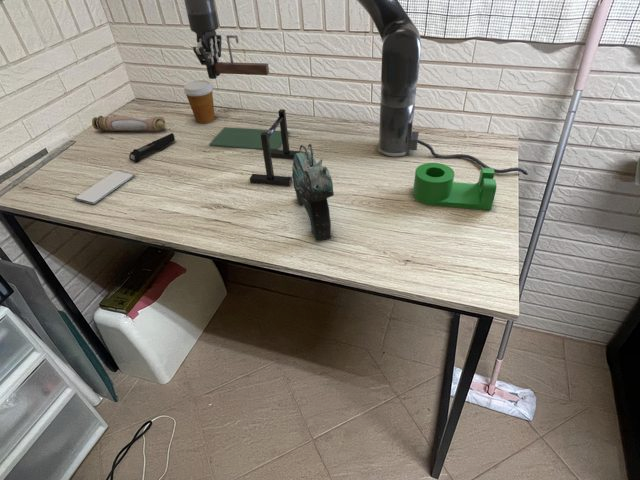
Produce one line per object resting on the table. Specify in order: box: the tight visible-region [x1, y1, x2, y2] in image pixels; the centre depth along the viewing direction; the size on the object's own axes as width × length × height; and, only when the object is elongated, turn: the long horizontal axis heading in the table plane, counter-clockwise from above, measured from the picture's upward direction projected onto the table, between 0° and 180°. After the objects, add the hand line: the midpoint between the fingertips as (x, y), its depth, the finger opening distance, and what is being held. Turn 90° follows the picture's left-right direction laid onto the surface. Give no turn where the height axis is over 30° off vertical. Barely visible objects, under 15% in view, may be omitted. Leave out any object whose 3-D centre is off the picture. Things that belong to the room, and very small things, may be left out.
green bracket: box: [412, 162, 497, 211], centre depth 102 cm, size 18×9×6 cm, turn 78°
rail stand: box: [249, 108, 305, 188], centre depth 114 cm, size 16×11×14 cm
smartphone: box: [74, 170, 135, 205], centre depth 115 cm, size 7×1×15 cm
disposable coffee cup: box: [183, 79, 216, 124], centre depth 143 cm, size 10×10×12 cm
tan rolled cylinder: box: [91, 115, 166, 132], centre depth 141 cm, size 6×25×5 cm, turn 82°
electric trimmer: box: [128, 132, 176, 163], centre depth 130 cm, size 4×16×3 cm, turn 143°
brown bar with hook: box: [206, 34, 270, 76], centre depth 117 cm, size 18×2×10 cm, turn 76°
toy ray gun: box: [291, 143, 335, 242], centre depth 93 cm, size 20×6×20 cm, turn 17°
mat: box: [208, 127, 290, 151], centre depth 133 cm, size 22×12×1 cm, turn 76°
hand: (214, 76), depth 123 cm, fingers closed on brown bar with hook, 2 cm apart
